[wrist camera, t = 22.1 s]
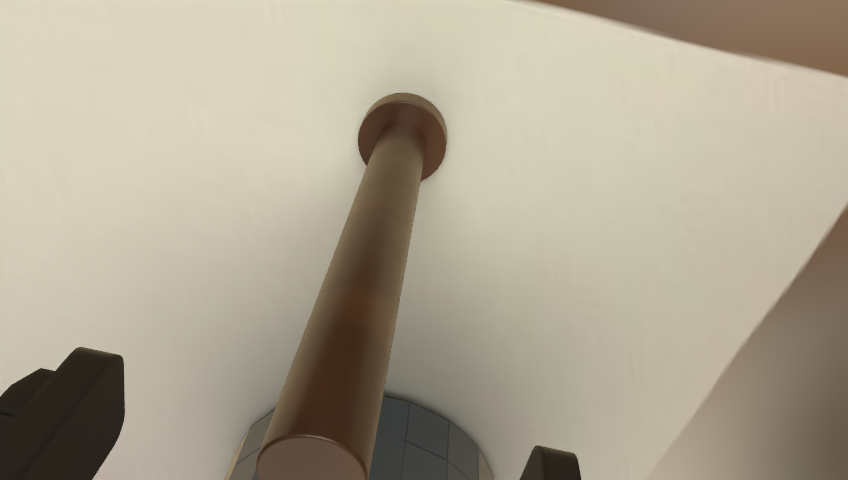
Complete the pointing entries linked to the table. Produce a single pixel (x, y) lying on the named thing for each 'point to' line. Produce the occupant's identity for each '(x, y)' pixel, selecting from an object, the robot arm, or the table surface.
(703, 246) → the table surface
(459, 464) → the bowl
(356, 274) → the brown wooden pestle
